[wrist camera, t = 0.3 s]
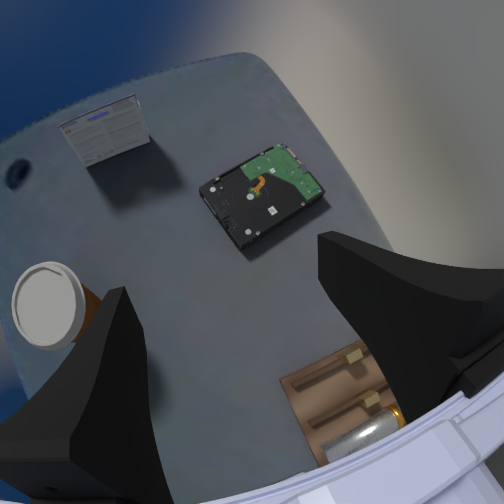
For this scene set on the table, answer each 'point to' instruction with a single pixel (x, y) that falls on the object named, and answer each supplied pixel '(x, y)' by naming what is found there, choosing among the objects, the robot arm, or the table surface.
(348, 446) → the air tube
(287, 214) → the disk drive
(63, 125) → the ink box
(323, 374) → the stand board
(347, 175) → the table surface
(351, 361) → the tan blocks
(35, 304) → the disposable coffee cup
